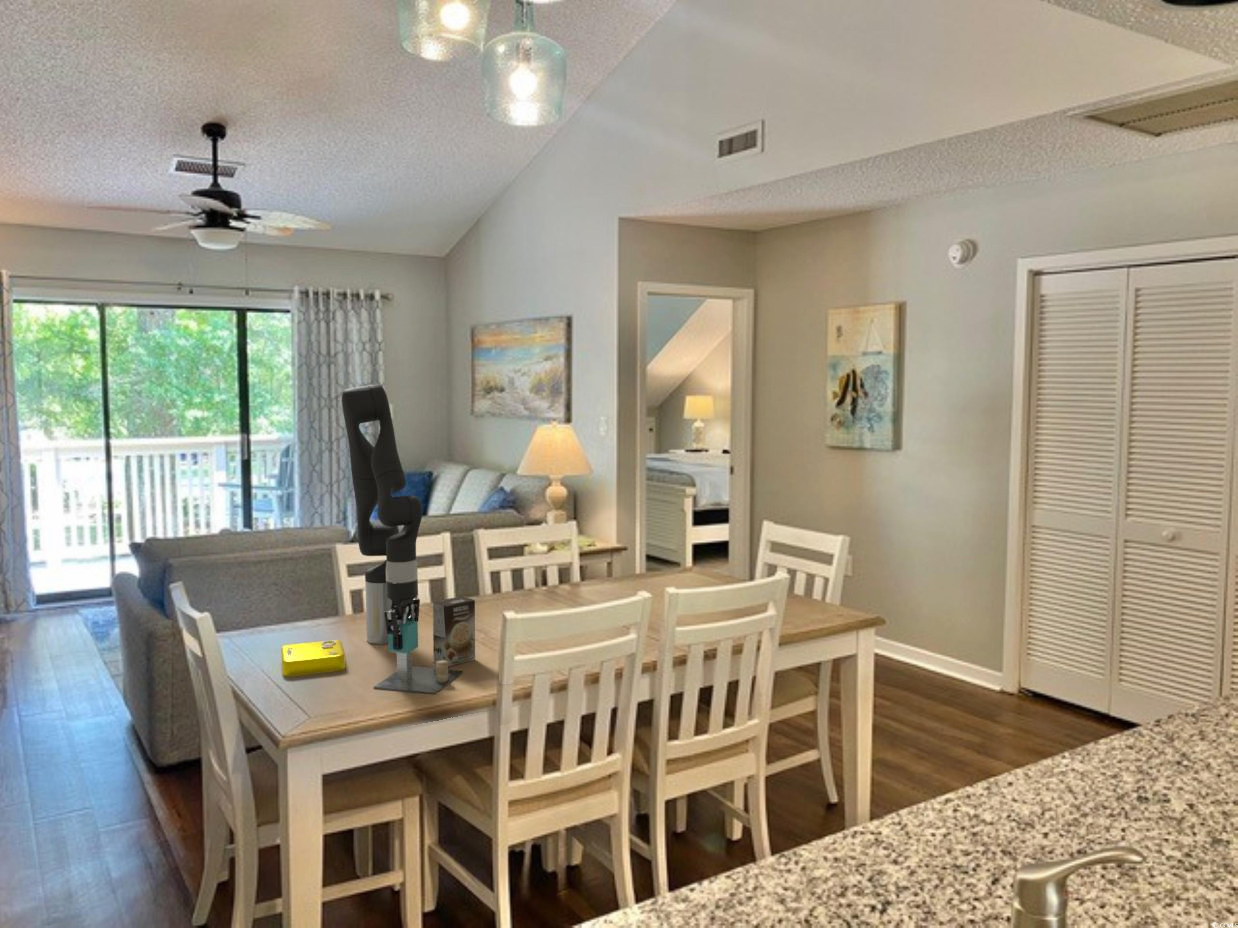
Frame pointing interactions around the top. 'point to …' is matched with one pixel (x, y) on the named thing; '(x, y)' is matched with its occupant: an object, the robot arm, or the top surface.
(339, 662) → the element tile
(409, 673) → the grey square base plate
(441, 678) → the birch peg
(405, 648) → the teal toy cube
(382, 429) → the robot arm
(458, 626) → the coffee box
